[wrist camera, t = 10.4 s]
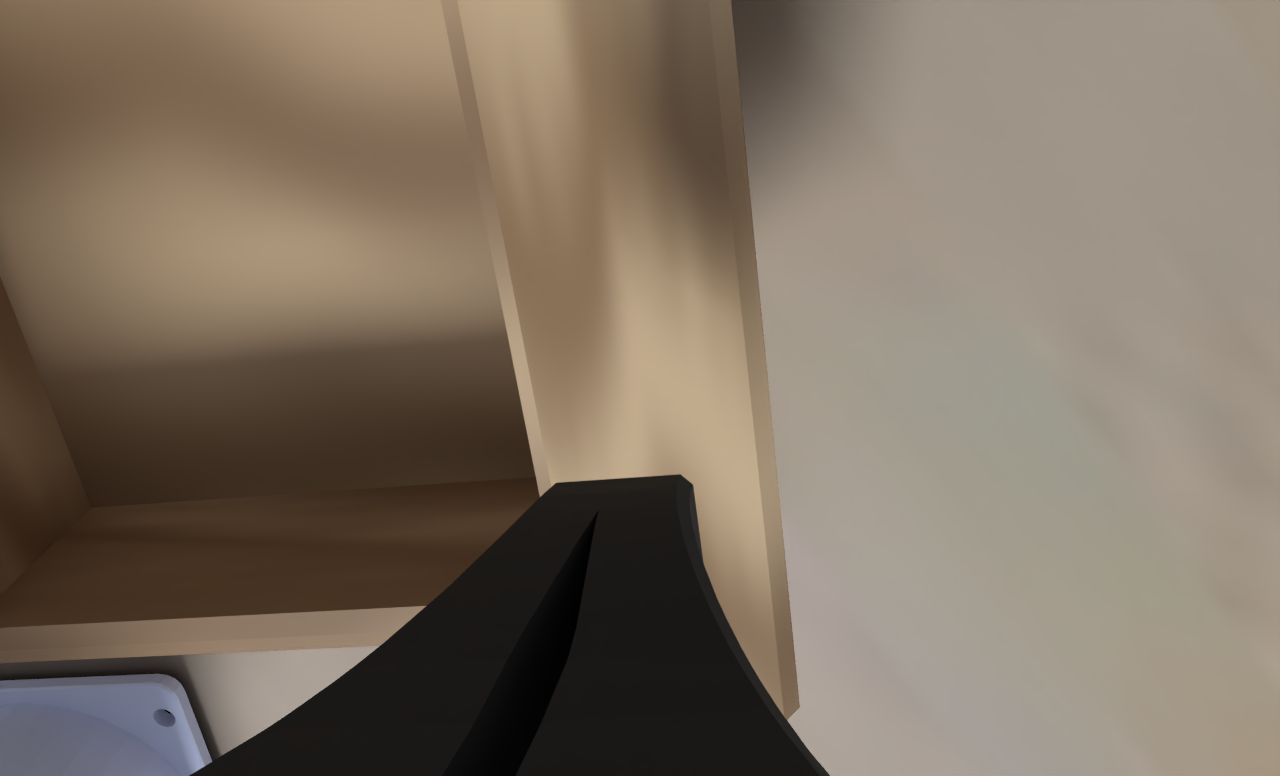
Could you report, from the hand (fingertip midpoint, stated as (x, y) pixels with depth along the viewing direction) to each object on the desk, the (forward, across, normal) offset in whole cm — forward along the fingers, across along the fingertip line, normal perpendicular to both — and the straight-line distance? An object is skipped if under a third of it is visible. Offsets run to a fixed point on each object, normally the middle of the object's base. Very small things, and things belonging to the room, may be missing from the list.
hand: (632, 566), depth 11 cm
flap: (+5, +2, -3) cm, 6 cm away
